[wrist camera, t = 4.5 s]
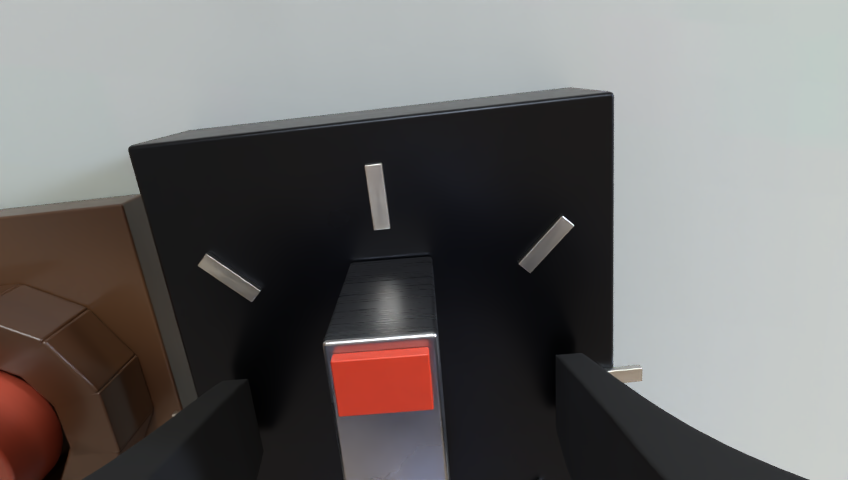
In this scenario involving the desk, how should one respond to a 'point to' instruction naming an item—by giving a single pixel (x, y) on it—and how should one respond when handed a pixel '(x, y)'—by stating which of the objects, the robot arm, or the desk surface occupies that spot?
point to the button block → (91, 325)
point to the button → (26, 431)
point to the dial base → (396, 239)
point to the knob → (387, 373)
